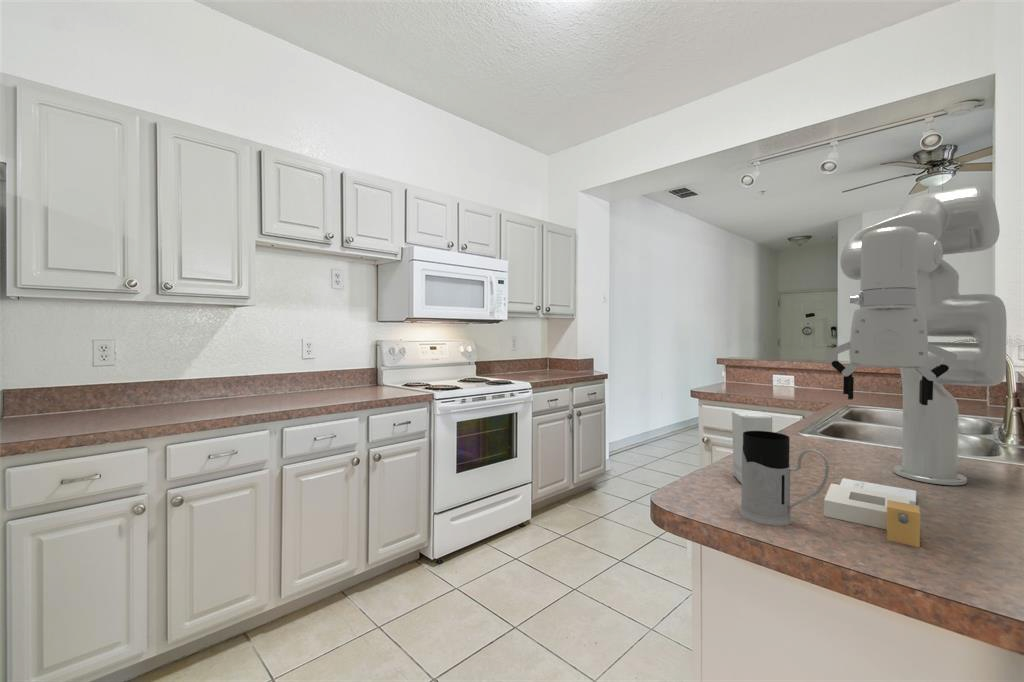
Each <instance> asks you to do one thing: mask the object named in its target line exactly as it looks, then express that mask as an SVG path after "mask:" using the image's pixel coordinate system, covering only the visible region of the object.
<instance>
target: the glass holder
mask: <svg viewBox="0 0 1024 682" xmlns="http://www.w3.org/2000/svg"><path fill="white" fill-rule="evenodd" d="M790 438H791V437H790V436H788V435H786V434H784V433H779V432H774V431H772V432H767V431H746V432H743V446H742V484H741V500H740V501H741V505H740V507H739V510H738V513H739V515H740V516H741V517H743V518H744V519H746V520H748V521H751V522H753V523H757V524H760V525H766V526H773V527H776V526H777V527H782V526H788V525H791V524H793V522H794V519H793V517H792V515H791V513H792V509H793V508H794V507H796V506H797V505H799V504H801V503H804V502H806V501H807V500H809V499H812V498H813V497H815V496H817V495H818V494H819V493H820V492H821V490H822V489H823V488H824V486H825V485H826V483H827V480H828V476H829V470H830V469H829V466H830V465H829V460H828V459H827V456H826V455H824V454H823V453H822V452H821V451H818V450H816V449H806V450H804V451H802V452H801V453H800V455H799V456H798V460H797V467H796V468H791V464H790V442H791V440H790ZM809 452H812V453H815V454H818V455H819V456H820V457H822V459H823V461H824V463H825V471H824V477H823V480H822V483H820V485H819V486H818V488H817V489H816V490H815V491H814V492H813V493H812V494H810V495H809V496H807V497H806V496H805V498H802V499H800V500H798V501H796V502H794V503H792V504H791V472H797V471H800V470H801V466H802V460H803V457H804V455H806V453H809Z"/></svg>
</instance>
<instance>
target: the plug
mask: <svg viewBox="0 0 1024 682" xmlns="http://www.w3.org/2000/svg"><path fill="white" fill-rule="evenodd" d="M920 533H921V509H920V505H917V504H916V505H913V504H907V503H902V502H896V501H891V500H887V530H886V540H887V541H889V542H893V543H897V544H903V545H906V546H911V547H915V548H921V547H920V545H921V542H920V541H921V540H920V539H921V538H920V537H921V534H920Z"/></svg>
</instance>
